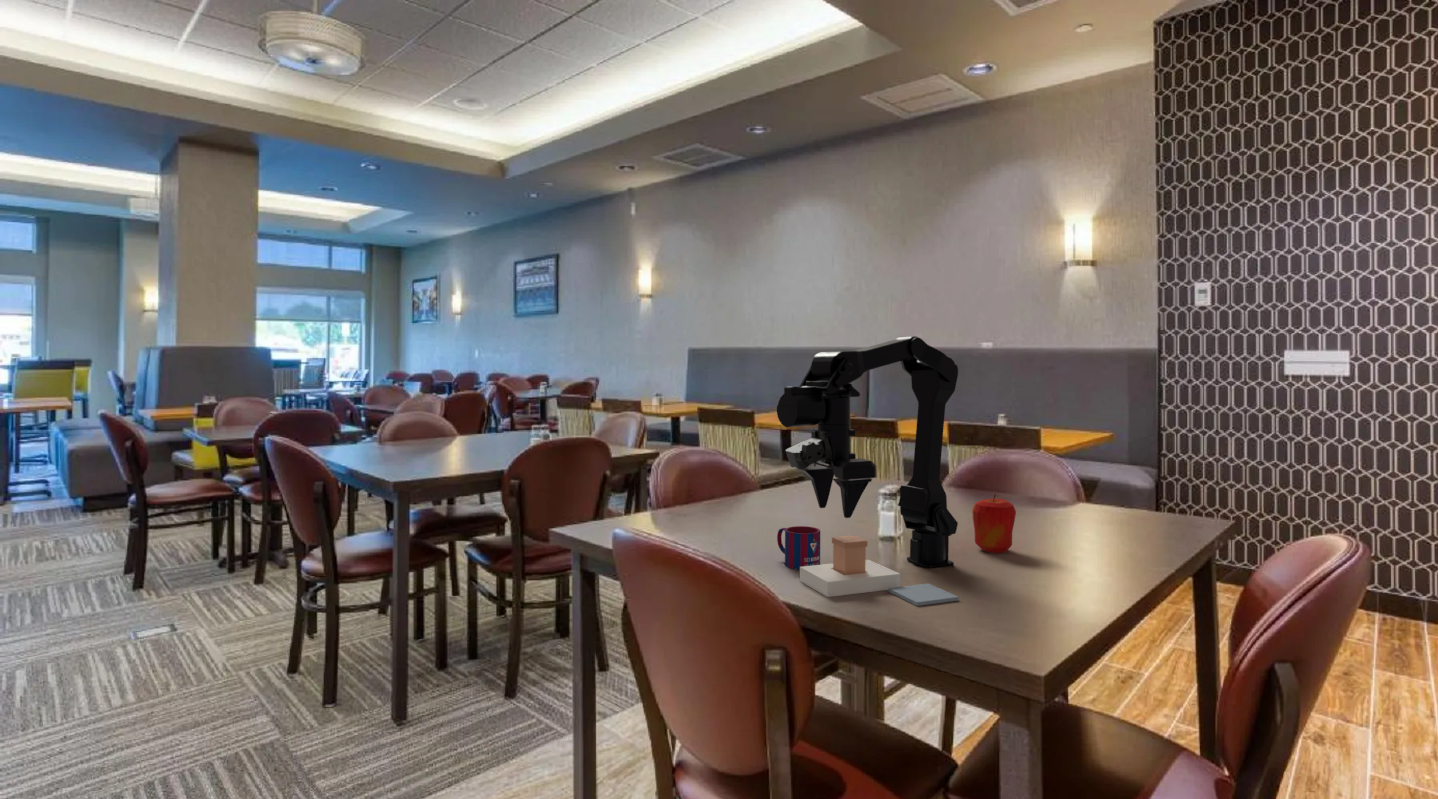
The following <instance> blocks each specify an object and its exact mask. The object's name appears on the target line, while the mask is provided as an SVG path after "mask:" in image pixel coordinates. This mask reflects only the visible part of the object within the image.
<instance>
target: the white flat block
mask: <svg viewBox="0 0 1438 799" xmlns="http://www.w3.org/2000/svg"><path fill="white" fill-rule="evenodd" d="M799 581H800V582H801V583H803V584H804V585H806V586H808V587H810V588H811V589H813V590H815V591H817V592H818V593H819V594H821V595H823V596H825V597H827V598H831V597H839V596H840V597H841V596H846V595H847V596H848V595H856V594H863V593H864V594H865V593H871V592H872V593H874V592H879V591H880V592H881V591H888V588H895V587H901V573H899V572H897V571H895V570H893V569H890V568H889V567H886V566H883V565H882V564H879V563H877V562H875V561H873V560H870V559H865V573H859V574H850V575H843V574H841V573H839V572H837V571H835V570H833V563H823V564H820V565H812V566H803V567H800V569H799Z"/></svg>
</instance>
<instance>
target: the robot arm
mask: <svg viewBox="0 0 1438 799" xmlns="http://www.w3.org/2000/svg"><path fill="white" fill-rule="evenodd" d="M899 362H900V364H901V367H902V369H903V370H904V372H906V373H907V374H908V376H910V378H911V380H910V381H911V382H910V383H911V389H912V392H913V393H914V396H915V398H916V400H917V404H918V406H917V417H916V418H917V419H916V426H915V427H916V430H915V441H914V442H915V444H914V453H913V454H914V455H913V466H912V468H913V469H912V475H911V476H912V477H911V479H909V480H908V482H907V484H906V485H904V484H902V485H900V488H899V500H898V504H897V506H898V507H899V509H900V511H899V512H900V515H901V516H902V519H903V521H904V527H905V529H908V530H909V529H910V530H911V538H910V540H909V556H907V557H906V560H907V561H908V562H911V563H914V564H917V565H919V566H920V567H923V568H934V567H936V568H937V567H943V566H944V567H945V566H952V565H953V566H954V563H955V561H952V560H949V548H950V547H949V541H950V540H949V537H951V536H952V535H955V534H956V533H957V529H958V526H959V523H958V521H957V520H956V518H955V517H954V515H953V514H952V513H951V512H950V511H949V509H948V504H947V502H948V501H947V498H948V497H947V493H946V491H945V489H944V487H943V485H942V482H941V481H940V474H941V462H942V452H943V450H942V449H943V439H944V437H943V436H944V425H945V413H946V412H945V411H946V404H947V403H948V401H949V400H950V399H951V397H952V395H953V394H954V392H955V391H956V388H957V381H958V376H959V366H958V365H957V364H956V363H955V361H954V359H952V358H951V357H949V356H948V355H946V354H945V353H944V352H943V351H941V350H939V349H937V348H935V347H933V346H931V345H929V344H927V343H926V342H925V340H923V339H922V338H920V337H918V336H916V335H914V336H913V335H911V336H899V337H897V338H896V339H891V340H890V341H885V342H881V343H877V344H873V345H869V346H866V347H863V348H859V349H856V350H848V351H847V350H843V351H841V350H840V351H820V352H818V353H816V354H815V355H814V356H813V359H812V362H811V364H810V367H809V369H808V370H807V371H806V372H807V373H806V374H805V376H804V377H803V379H802V381H801V382H800V384H799V386H784V390H783V391H784V392H783V394H782V395H781V396H780V398H779V400H778V404H777V405H776V415H777V418H778V420H779V422H780V425H782V426H783V427H785V428H794V427H795V428H796V427H797V428H798V427H807V426H808V427H809V426H816V427H817V428H813V429H812V431H811V433H810V434H811V437H810V438H809V439H806V440H804V441H801V442H799V443H797V444H795V445H792V446H790V447H788V448H786V449H785V454H786V456H787V459H788V463H789V464H790V467H791V468H796V469H797V470H800V471H801V472H803V473H804V474H805V475H806V476H807V477H808V478H809V479H810V482H811V485H812V487H813V488H812V489H813V491H814V494H815V498H816V501H817V504H818V507H819V508H820V509H825V508H826V507H827V504H828V501H829V497H830V493H831V488H832V485H833V481H834V483H835V484H836V485H837V486H838V487H839V489H840V495H841V496H840V497H841V504H842V505H841V506H842V512H843V518H845V519H850V518H851V517H852V515H853V514H854V511H855V509H856V508H857V505H858V503H859V502H860V499H861V497H862V495H863V493H864V491H865V489H866V488H867V486H868V484H869V483H870V482H871V483H872V480H873V479H875V478H876V477H877V466H876V463H874V461H872V460H870V459H865V458H861V457H860V458H856V453H855V452H851V449H852V448H851V444H852V443H851V437H854V436H855V437H856V429H851V398H858V397H860V396H861V393H860V392H859V391H858V390H857V389H856V388H855V387H854V386H853V384H852V382H855V381H856V380H858V379H861V377H862V376H863V375H864V373H867V372H868V371H871V370H875V369H878V368H881V367H882V368H883V367H884V366H888V365H891V364H895V363H899Z"/></svg>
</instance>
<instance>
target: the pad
mask: <svg viewBox="0 0 1438 799" xmlns="http://www.w3.org/2000/svg"><path fill="white" fill-rule="evenodd" d="M887 592H888V593H890V594H892V595H894V596H896V597H898V598H900V599H902V600H904V601H906V602H908V603H910V604H912V605H914V606H916V607H920V606H925V605H926V606H928V605H934V604H935V605H937V604H943V603H949V602H957V601H959V600H960V599H959V598H960V597H959V596H958V595H955V594H953V593H951V592H948V591H946V590H944V589H942V588H939V587H937V586H935V585H933V584H931V583H920V584H914V585H913V584H912V585H905V586H900V587H895V588H888V590H887Z"/></svg>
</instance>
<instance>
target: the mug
mask: <svg viewBox="0 0 1438 799" xmlns="http://www.w3.org/2000/svg"><path fill="white" fill-rule="evenodd" d="M783 532H784V545H783V540H782V535H783ZM776 541H777V545H778V549H779V550H780V551H781V552H782V554H784V566H785V567H787V568H790V569H794V570H800V567H803V566H812V565H821V529H820V528H818V527H814V526H807V525H804V526H803V525H797V526H789V527H781V528H779V529H778V532H777V535H776Z"/></svg>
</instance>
